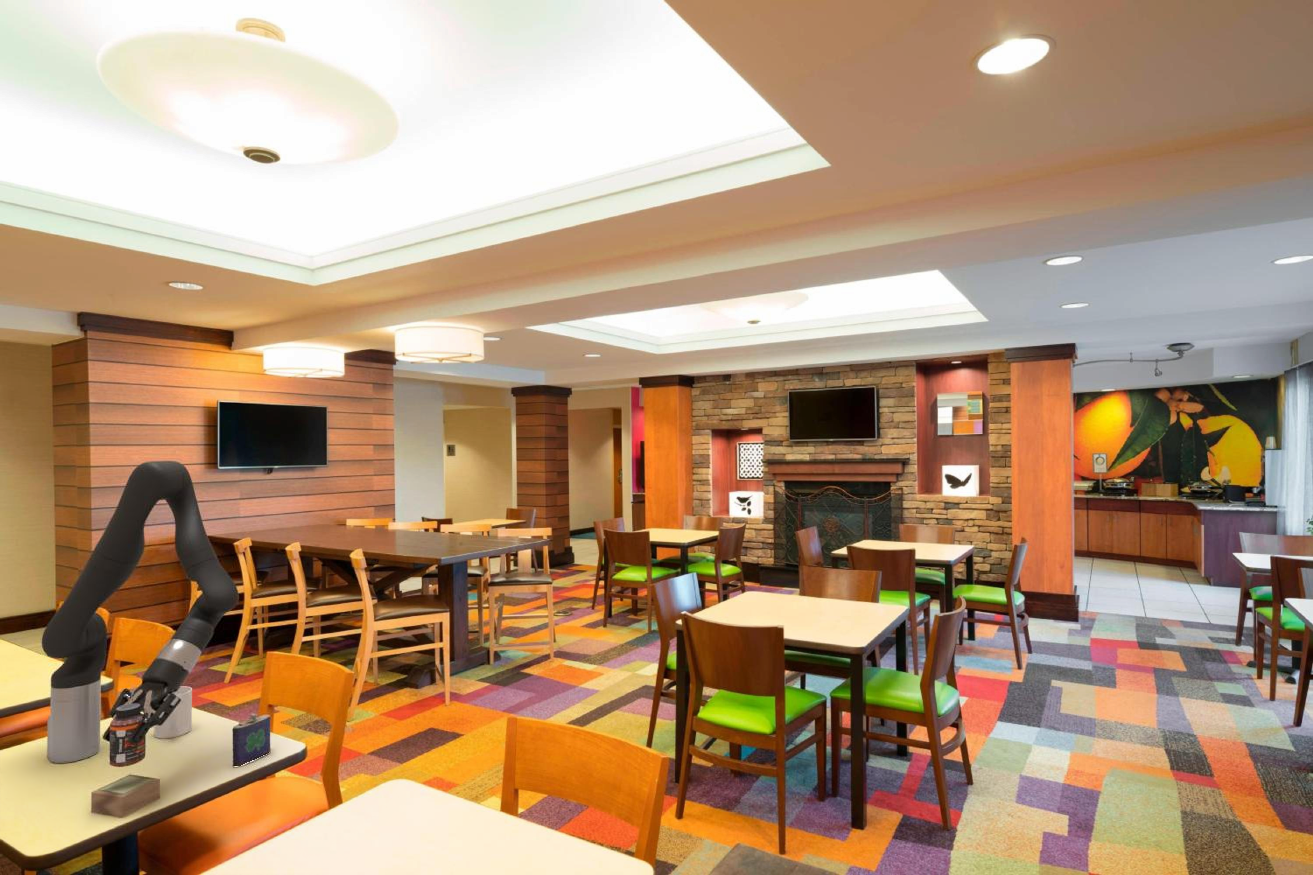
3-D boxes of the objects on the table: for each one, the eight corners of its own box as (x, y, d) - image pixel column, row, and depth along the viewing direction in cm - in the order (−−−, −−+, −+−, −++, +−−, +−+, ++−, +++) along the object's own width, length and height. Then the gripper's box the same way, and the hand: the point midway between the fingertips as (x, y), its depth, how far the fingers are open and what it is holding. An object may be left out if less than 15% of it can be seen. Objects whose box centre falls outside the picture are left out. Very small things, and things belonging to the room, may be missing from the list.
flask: (265, 750, 171) (266, 705, 171) (274, 752, 170) (274, 707, 170) (229, 766, 163) (229, 719, 163) (238, 768, 161) (238, 721, 161)
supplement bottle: (126, 769, 142) (125, 712, 142) (101, 766, 143) (101, 710, 143) (153, 756, 147) (152, 702, 148) (129, 754, 149) (129, 700, 149)
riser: (91, 812, 142) (91, 791, 142) (129, 793, 150) (130, 773, 150) (122, 817, 140) (122, 796, 140) (159, 797, 148) (160, 777, 148)
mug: (154, 730, 182) (155, 689, 182) (191, 723, 187) (191, 684, 187) (153, 747, 172) (154, 704, 172) (192, 740, 177) (192, 697, 177)
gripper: (135, 654, 154) (78, 730, 143) (188, 659, 151) (134, 737, 139) (157, 671, 159) (104, 745, 148) (209, 676, 156) (159, 753, 144)
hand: (119, 741), depth 143 cm, fingers closed on supplement bottle, 6 cm apart
